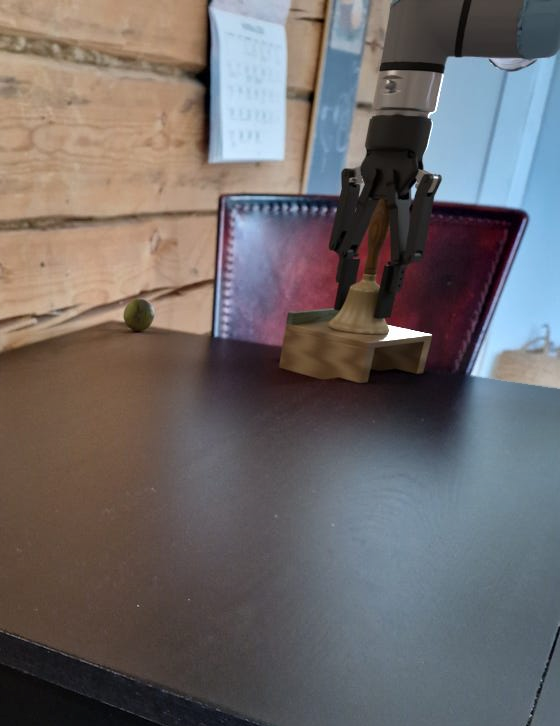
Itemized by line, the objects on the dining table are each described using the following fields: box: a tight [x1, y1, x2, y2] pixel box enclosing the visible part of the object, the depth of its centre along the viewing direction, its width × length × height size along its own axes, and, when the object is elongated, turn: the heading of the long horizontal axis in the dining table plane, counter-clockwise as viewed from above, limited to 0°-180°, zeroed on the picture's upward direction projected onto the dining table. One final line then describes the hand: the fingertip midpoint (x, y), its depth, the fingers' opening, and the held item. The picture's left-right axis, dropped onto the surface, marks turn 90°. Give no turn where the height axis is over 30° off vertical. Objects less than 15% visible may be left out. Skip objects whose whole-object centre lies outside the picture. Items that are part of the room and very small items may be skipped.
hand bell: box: [328, 199, 390, 335], centre depth 114 cm, size 8×8×16 cm
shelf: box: [278, 307, 433, 384], centre depth 119 cm, size 14×14×8 cm
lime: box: [122, 298, 155, 332], centre depth 139 cm, size 4×5×5 cm
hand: (361, 313), depth 117 cm, fingers closed on hand bell, 6 cm apart
